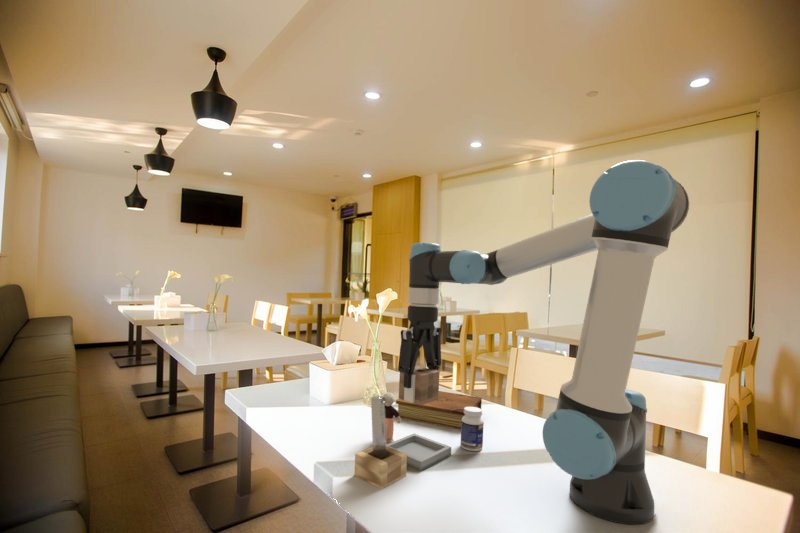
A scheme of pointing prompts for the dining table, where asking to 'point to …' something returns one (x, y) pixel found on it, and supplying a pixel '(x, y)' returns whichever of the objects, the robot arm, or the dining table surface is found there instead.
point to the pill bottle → (472, 429)
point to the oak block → (380, 467)
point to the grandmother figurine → (390, 416)
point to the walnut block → (422, 385)
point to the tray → (421, 451)
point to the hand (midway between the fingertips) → (419, 397)
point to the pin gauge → (378, 427)
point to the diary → (439, 409)
